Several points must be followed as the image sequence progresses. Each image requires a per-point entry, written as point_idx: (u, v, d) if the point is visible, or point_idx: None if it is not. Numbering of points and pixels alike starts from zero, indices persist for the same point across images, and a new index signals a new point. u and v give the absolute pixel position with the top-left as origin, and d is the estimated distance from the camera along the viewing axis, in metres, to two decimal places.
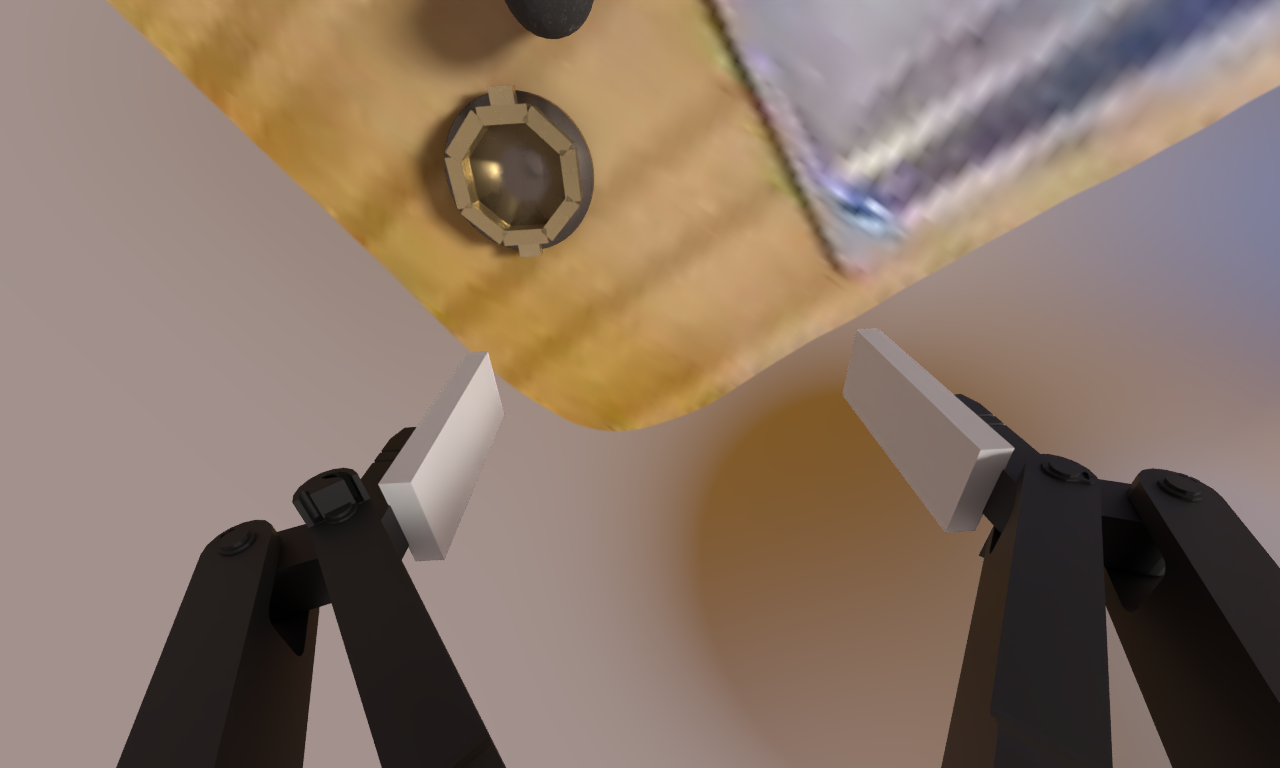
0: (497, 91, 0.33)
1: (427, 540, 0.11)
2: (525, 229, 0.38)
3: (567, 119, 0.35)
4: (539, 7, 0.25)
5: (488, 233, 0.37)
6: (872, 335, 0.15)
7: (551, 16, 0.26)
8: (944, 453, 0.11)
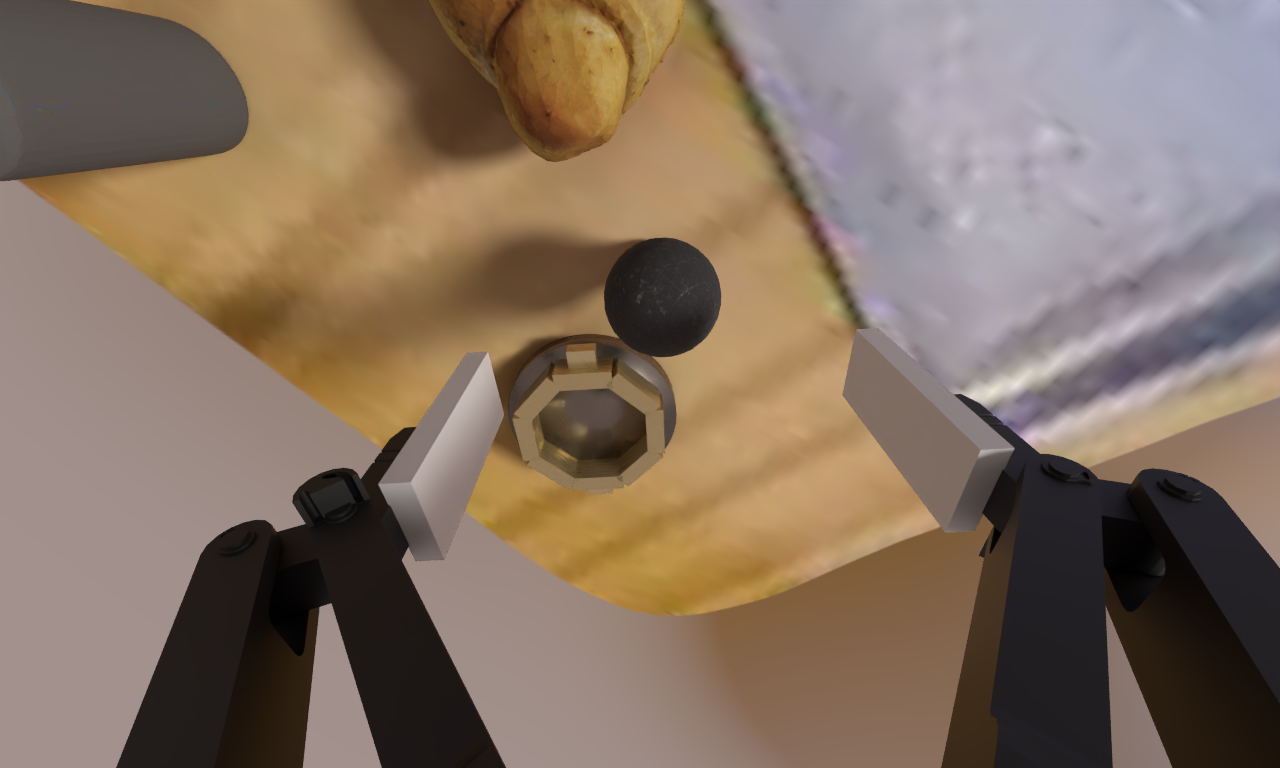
0: (577, 355, 0.28)
1: (427, 540, 0.11)
2: (598, 475, 0.33)
3: (652, 369, 0.30)
4: (657, 351, 0.21)
5: (556, 480, 0.33)
6: (872, 335, 0.15)
7: (670, 354, 0.21)
8: (944, 453, 0.11)
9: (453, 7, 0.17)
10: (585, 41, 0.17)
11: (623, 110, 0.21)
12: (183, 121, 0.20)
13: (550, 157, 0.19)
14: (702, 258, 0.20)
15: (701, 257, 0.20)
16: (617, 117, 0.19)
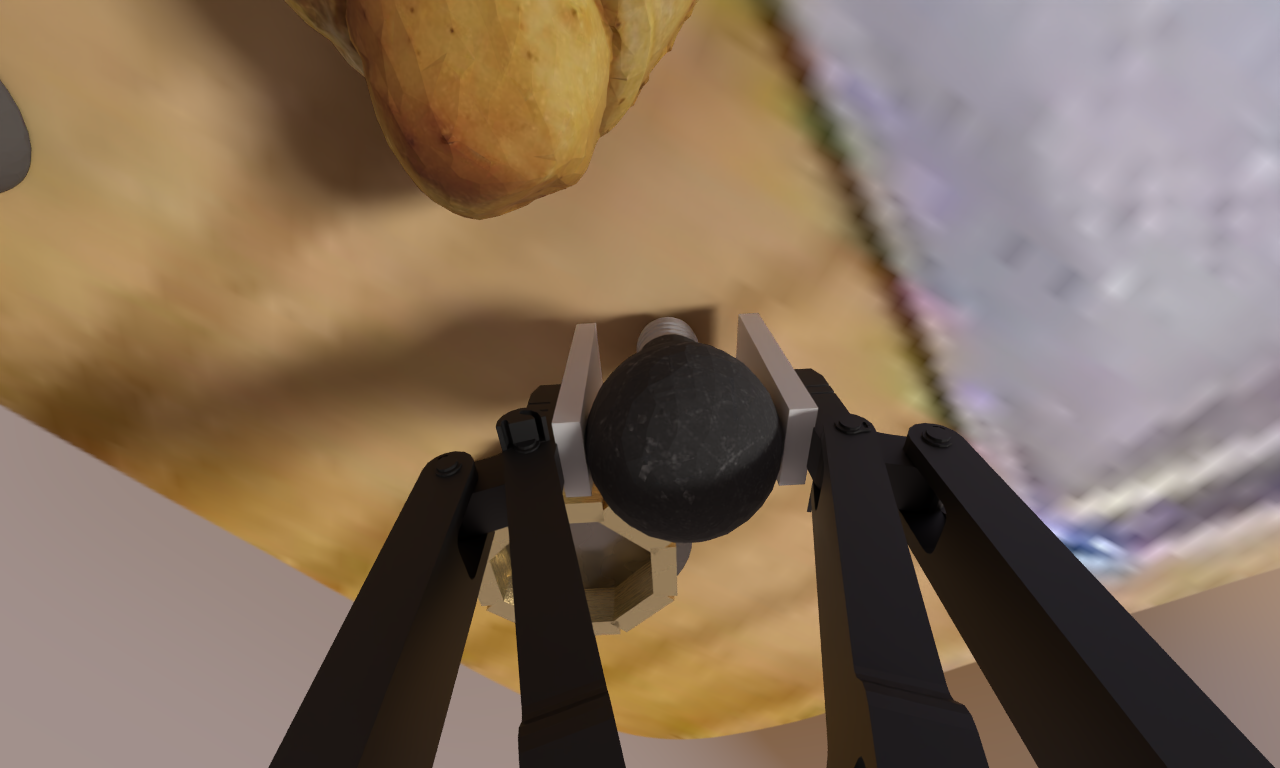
0: None
1: (580, 477, 0.13)
2: None
3: None
4: (676, 541, 0.12)
5: None
6: (750, 319, 0.17)
7: None
8: None
9: None
10: None
11: (604, 129, 0.12)
12: None
13: (466, 214, 0.10)
14: (754, 387, 0.12)
15: (753, 386, 0.12)
16: (589, 144, 0.10)
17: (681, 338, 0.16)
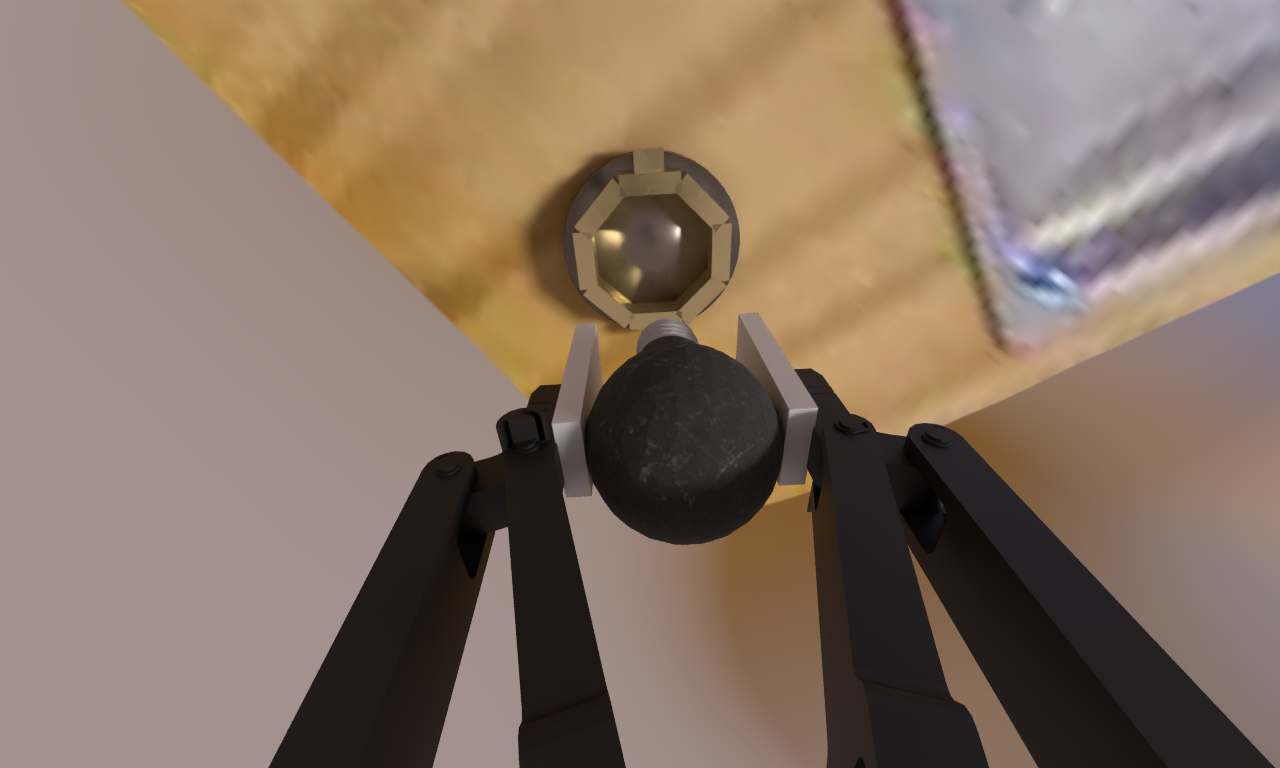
0: (644, 155, 0.27)
1: (580, 477, 0.13)
2: (656, 311, 0.31)
3: (719, 185, 0.29)
4: (676, 543, 0.12)
5: (612, 316, 0.31)
6: (750, 318, 0.17)
7: None
8: None
9: None
10: None
11: None
12: None
13: None
14: (754, 389, 0.12)
15: (753, 388, 0.12)
16: None
17: (681, 339, 0.16)
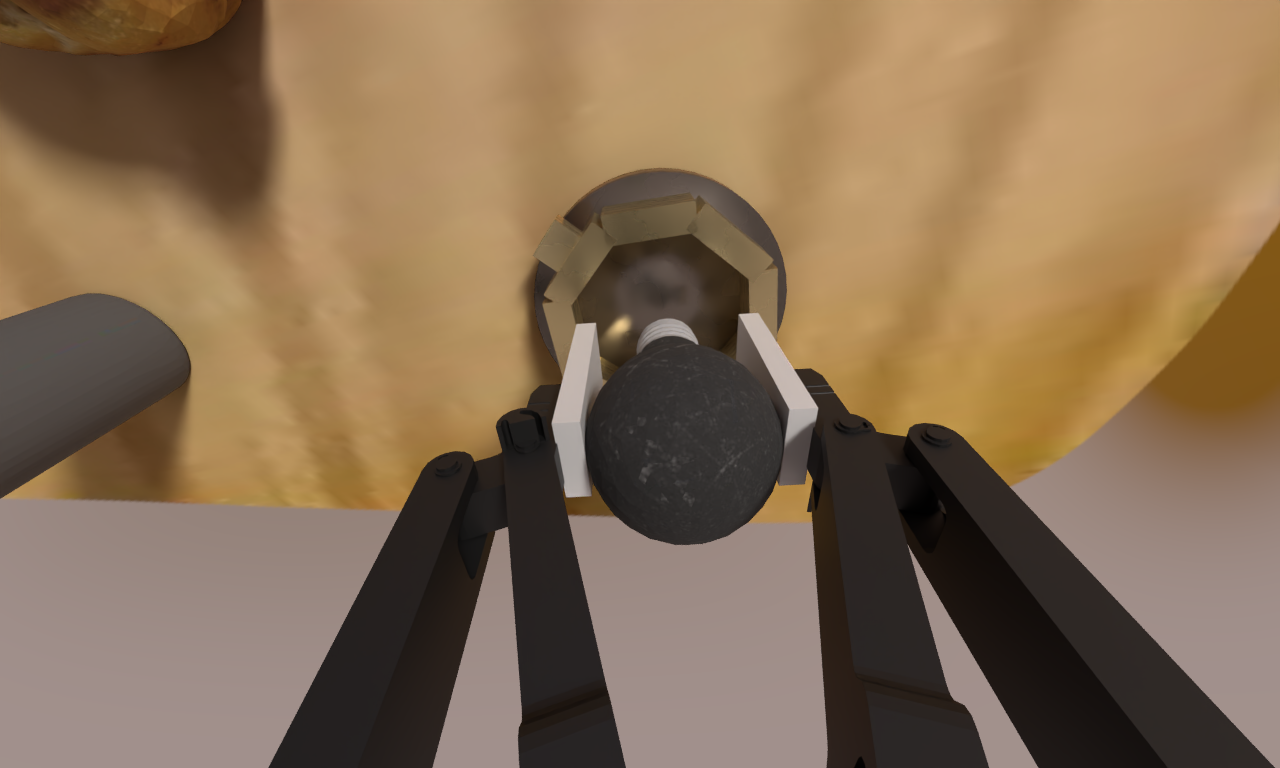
0: (547, 246, 0.19)
1: (580, 477, 0.13)
2: None
3: (654, 175, 0.19)
4: (676, 543, 0.12)
5: None
6: (750, 319, 0.17)
7: None
8: None
9: None
10: None
11: None
12: (85, 362, 0.20)
13: (131, 25, 0.12)
14: (754, 389, 0.12)
15: (752, 388, 0.12)
16: None
17: (681, 340, 0.16)
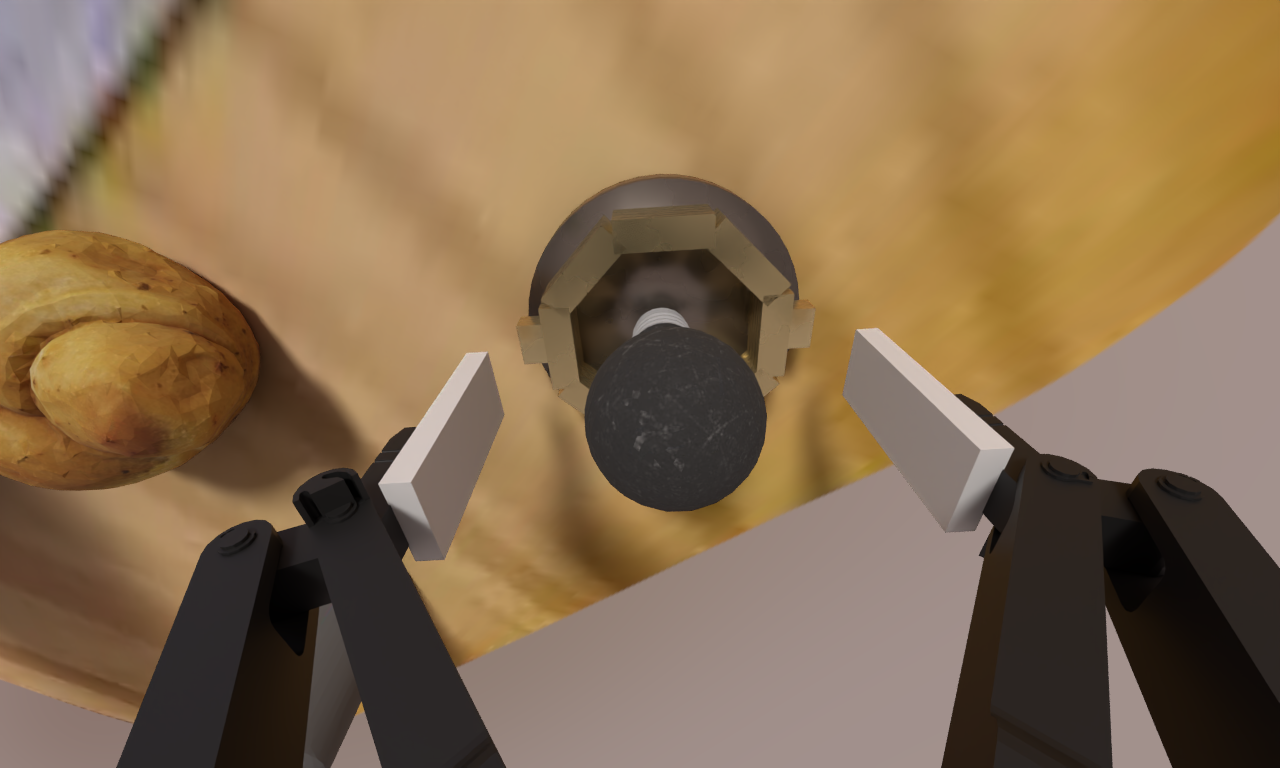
0: (529, 349, 0.19)
1: (427, 540, 0.11)
2: (758, 334, 0.19)
3: (564, 226, 0.18)
4: (668, 509, 0.13)
5: None
6: (872, 335, 0.15)
7: None
8: (944, 453, 0.11)
9: (112, 477, 0.18)
10: (39, 388, 0.15)
11: (179, 314, 0.18)
12: None
13: (192, 427, 0.17)
14: (739, 367, 0.13)
15: (738, 365, 0.13)
16: (127, 349, 0.16)
17: (674, 326, 0.17)
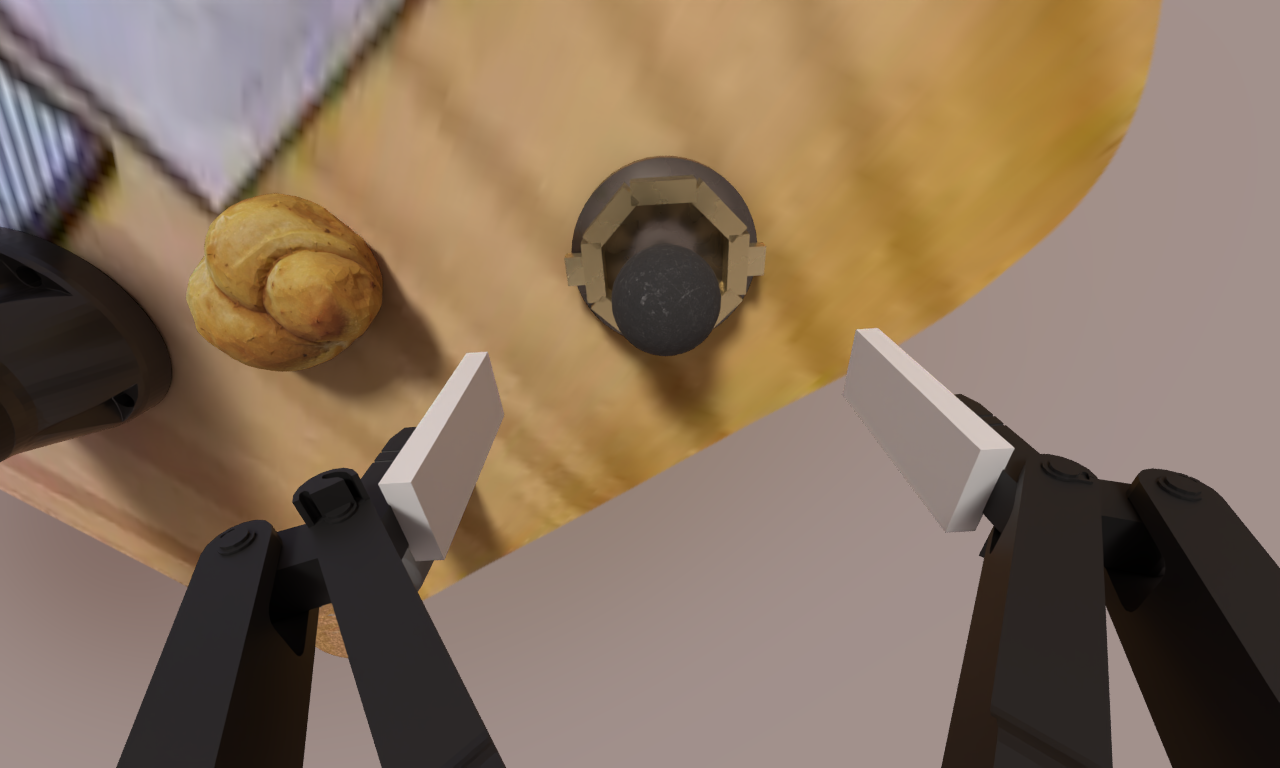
0: (572, 275, 0.28)
1: (427, 540, 0.11)
2: (727, 263, 0.28)
3: (598, 190, 0.27)
4: (660, 349, 0.22)
5: (727, 311, 0.29)
6: (872, 335, 0.15)
7: (672, 353, 0.23)
8: (944, 453, 0.11)
9: (296, 358, 0.28)
10: (276, 288, 0.25)
11: (347, 250, 0.27)
12: None
13: (360, 319, 0.26)
14: (703, 263, 0.22)
15: (702, 262, 0.22)
16: (327, 266, 0.25)
17: None
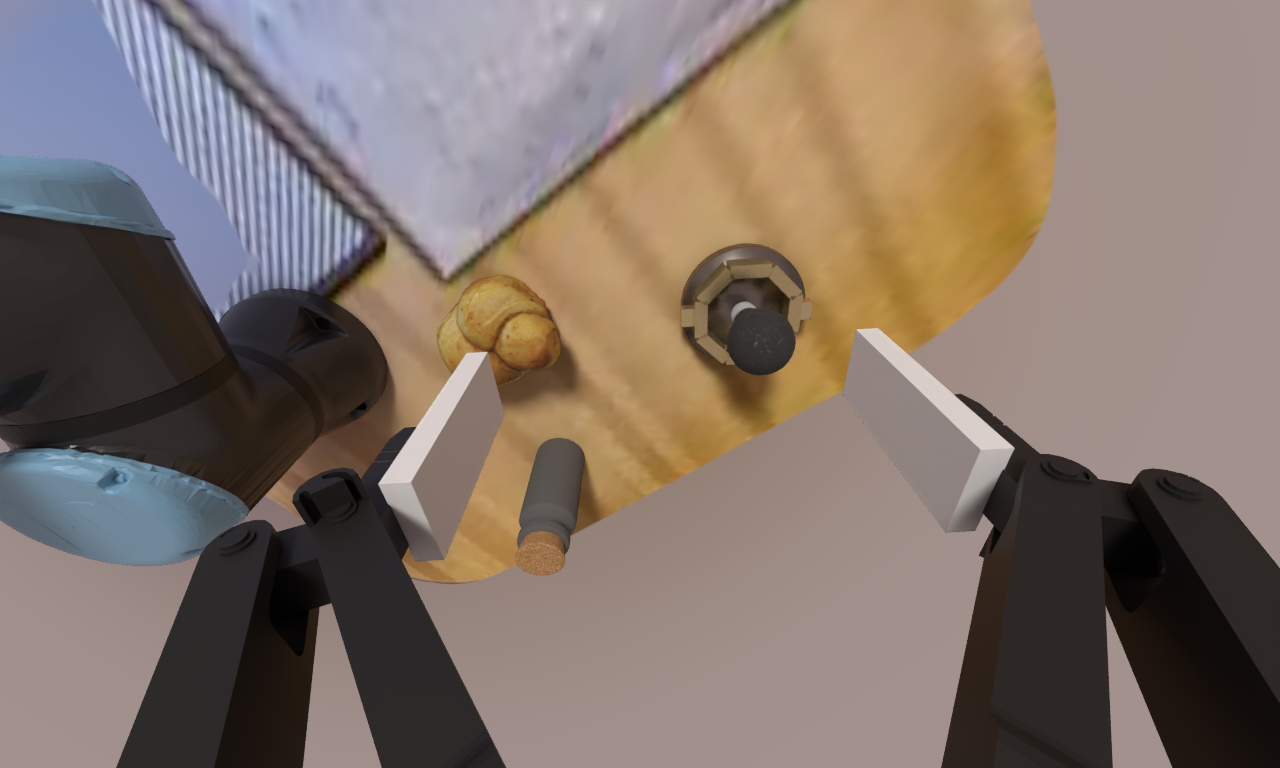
0: (684, 320, 0.43)
1: (427, 540, 0.11)
2: (787, 313, 0.43)
3: (705, 266, 0.42)
4: (761, 372, 0.37)
5: None
6: (872, 335, 0.15)
7: (766, 373, 0.38)
8: (944, 453, 0.11)
9: (504, 380, 0.43)
10: (510, 339, 0.40)
11: (542, 311, 0.42)
12: (565, 462, 0.51)
13: (556, 357, 0.41)
14: (786, 321, 0.37)
15: (786, 320, 0.37)
16: (540, 324, 0.40)
17: (755, 309, 0.41)
